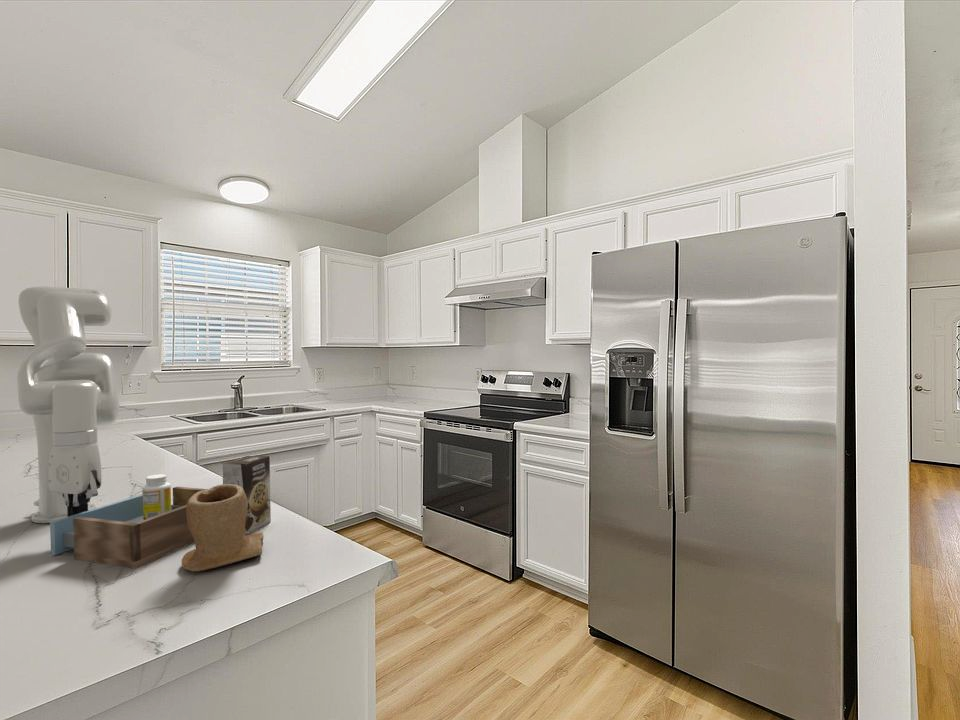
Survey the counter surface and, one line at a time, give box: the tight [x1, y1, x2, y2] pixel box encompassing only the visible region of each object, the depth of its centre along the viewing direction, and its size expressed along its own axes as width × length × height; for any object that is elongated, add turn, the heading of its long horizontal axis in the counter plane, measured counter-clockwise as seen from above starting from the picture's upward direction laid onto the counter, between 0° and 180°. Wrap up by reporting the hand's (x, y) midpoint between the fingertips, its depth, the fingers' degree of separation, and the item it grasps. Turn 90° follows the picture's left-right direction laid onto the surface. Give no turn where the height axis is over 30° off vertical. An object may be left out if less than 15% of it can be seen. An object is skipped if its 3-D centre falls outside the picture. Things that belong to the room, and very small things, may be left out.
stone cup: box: [181, 484, 264, 572], centre depth 98 cm, size 15×12×15 cm
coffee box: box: [222, 455, 272, 536], centre depth 117 cm, size 9×6×16 cm
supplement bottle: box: [142, 473, 172, 520], centre depth 117 cm, size 6×6×10 cm
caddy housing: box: [73, 486, 209, 569], centre depth 110 cm, size 16×24×8 cm, turn 163°
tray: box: [49, 493, 182, 556], centre depth 112 cm, size 16×24×7 cm, turn 163°
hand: (78, 522), depth 110 cm, fingers closed
